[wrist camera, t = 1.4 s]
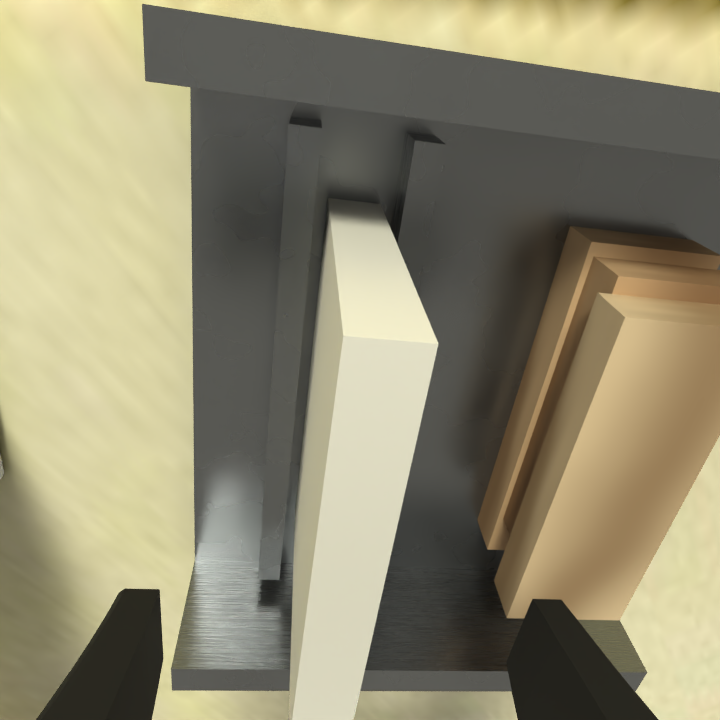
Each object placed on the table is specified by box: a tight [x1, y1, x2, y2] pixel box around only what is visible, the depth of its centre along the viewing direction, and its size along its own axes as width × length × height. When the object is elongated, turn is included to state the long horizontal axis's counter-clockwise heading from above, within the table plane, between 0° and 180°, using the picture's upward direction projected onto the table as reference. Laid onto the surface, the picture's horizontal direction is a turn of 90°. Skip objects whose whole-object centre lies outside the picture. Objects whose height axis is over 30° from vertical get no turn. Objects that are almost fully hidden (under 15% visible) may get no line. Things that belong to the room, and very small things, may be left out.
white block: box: [289, 198, 438, 720], centre depth 15 cm, size 2×12×8 cm, turn 173°
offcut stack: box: [477, 226, 720, 620], centre depth 18 cm, size 4×12×4 cm, turn 173°
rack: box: [142, 4, 720, 691], centre depth 18 cm, size 17×20×6 cm
